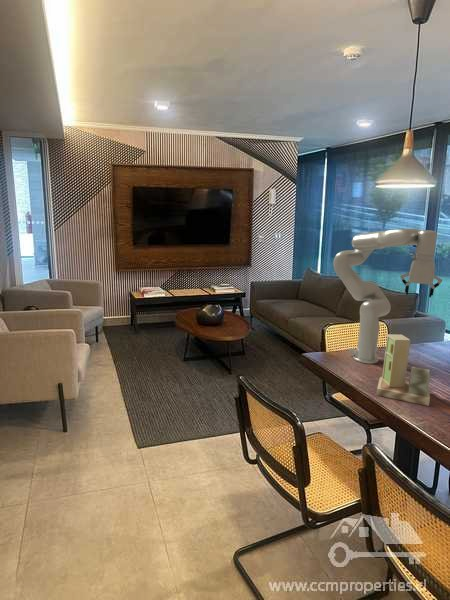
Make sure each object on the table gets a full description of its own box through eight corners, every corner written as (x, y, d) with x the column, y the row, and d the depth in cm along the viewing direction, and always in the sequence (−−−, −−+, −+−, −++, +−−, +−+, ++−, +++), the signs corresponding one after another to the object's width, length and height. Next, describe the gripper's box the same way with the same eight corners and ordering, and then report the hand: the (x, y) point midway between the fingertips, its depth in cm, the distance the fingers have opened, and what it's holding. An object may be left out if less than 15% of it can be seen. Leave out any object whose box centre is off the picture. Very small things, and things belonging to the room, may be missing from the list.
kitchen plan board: (376, 395, 178) (379, 370, 176) (379, 382, 191) (382, 359, 188) (428, 405, 171) (432, 380, 168) (428, 392, 183) (432, 368, 181)
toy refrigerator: (379, 379, 186) (385, 333, 182) (396, 379, 187) (402, 334, 182) (387, 387, 179) (393, 339, 174) (404, 387, 179) (411, 340, 174)
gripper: (402, 257, 190) (397, 294, 194) (446, 261, 183) (439, 299, 187) (403, 255, 197) (398, 291, 201) (445, 259, 190) (439, 296, 194)
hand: (418, 295), depth 194 cm, fingers open, 9 cm apart
